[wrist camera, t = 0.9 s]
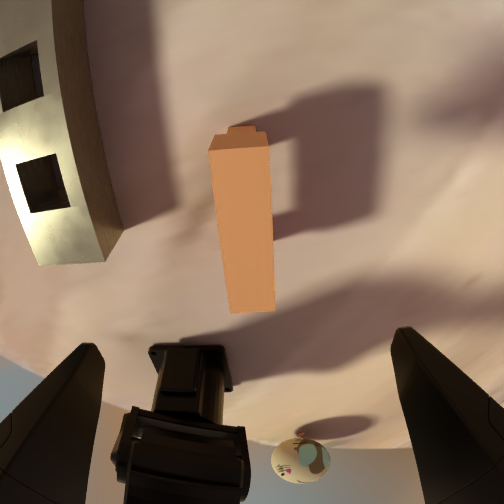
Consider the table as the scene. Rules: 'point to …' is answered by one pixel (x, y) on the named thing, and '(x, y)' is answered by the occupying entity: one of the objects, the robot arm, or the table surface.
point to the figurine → (300, 460)
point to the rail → (54, 134)
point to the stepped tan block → (244, 217)
